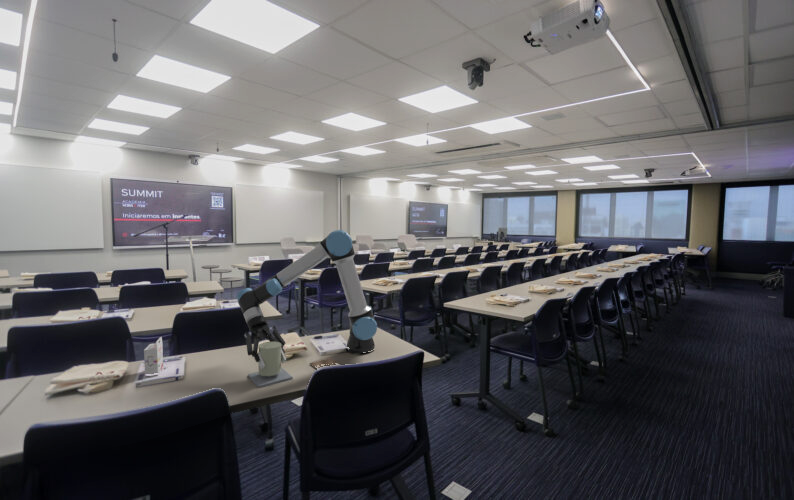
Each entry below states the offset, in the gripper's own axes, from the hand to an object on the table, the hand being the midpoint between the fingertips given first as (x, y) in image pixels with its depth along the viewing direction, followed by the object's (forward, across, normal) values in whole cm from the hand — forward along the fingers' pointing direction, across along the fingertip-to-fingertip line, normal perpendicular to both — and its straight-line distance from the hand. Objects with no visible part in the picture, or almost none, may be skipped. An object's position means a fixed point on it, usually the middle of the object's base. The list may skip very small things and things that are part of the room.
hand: (274, 364), depth 144 cm
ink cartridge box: (-26, +32, -35) cm, 54 cm away
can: (+1, 0, -5) cm, 5 cm away
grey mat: (+2, 0, -7) cm, 7 cm away
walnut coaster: (+7, -24, -2) cm, 25 cm away
